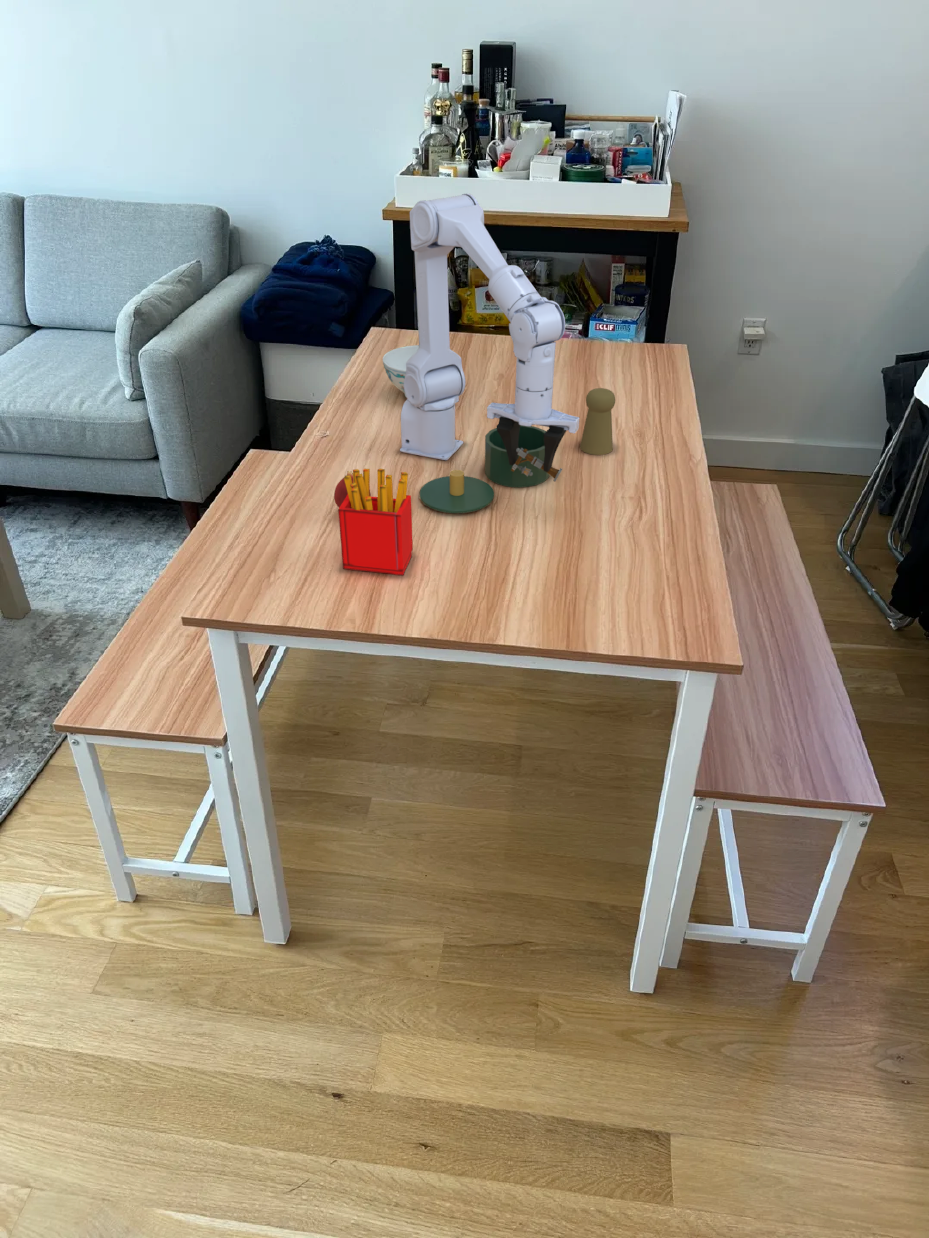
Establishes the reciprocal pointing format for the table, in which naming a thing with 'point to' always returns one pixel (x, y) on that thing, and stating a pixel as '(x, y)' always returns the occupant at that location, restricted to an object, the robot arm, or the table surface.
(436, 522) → the table surface
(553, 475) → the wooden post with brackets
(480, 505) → the lid
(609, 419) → the olive game pawn
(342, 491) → the onion
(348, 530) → the french fries container
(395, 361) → the chinaware
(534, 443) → the tin
